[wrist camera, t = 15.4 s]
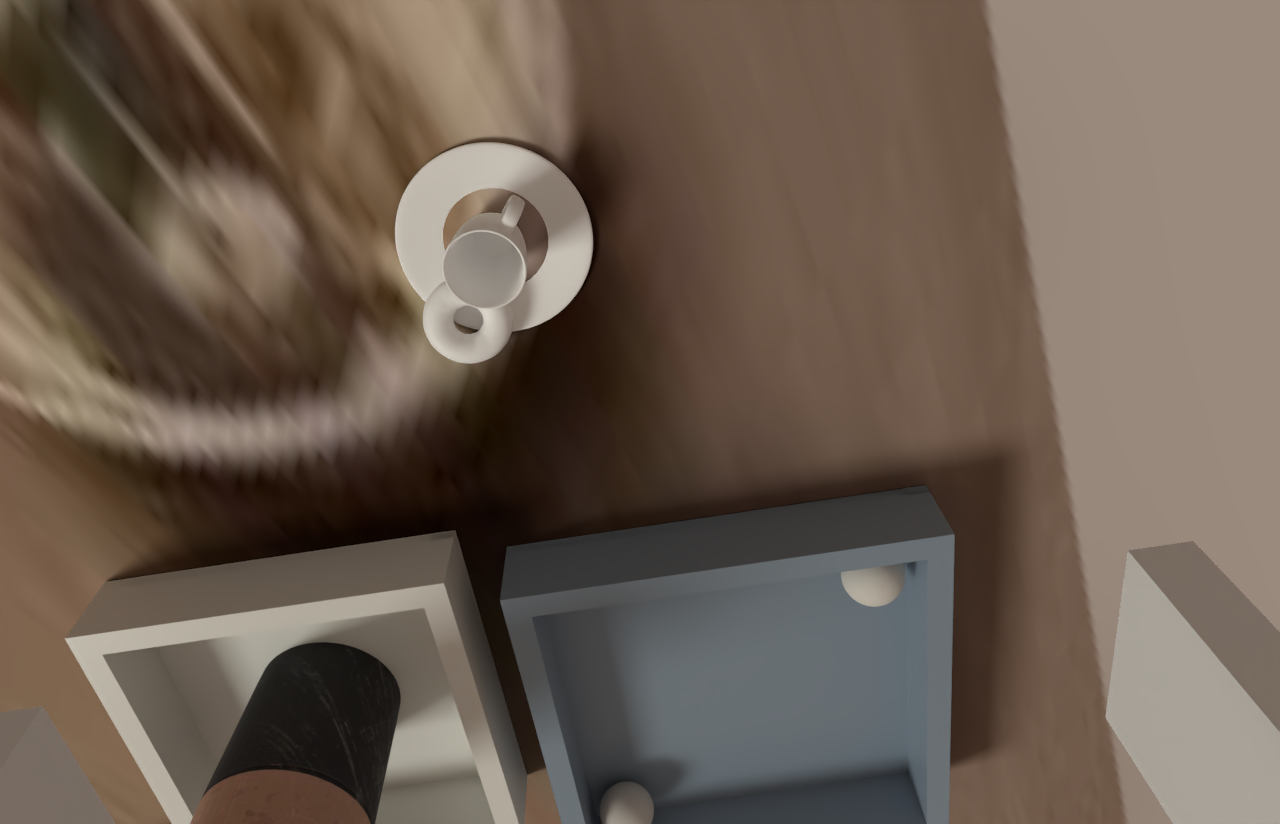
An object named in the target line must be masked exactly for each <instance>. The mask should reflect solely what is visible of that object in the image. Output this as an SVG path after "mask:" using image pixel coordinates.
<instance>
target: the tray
mask: <svg viewBox="0 0 1280 824" xmlns="http://www.w3.org/2000/svg"><path fill="white" fill-rule="evenodd" d="M65 640H66V642H67V643H68V645H69V647H70V649H71V650H72V652H73V654H74V656H75V657H76V659H77V661H78V662H79V664H80V666H81V668H82V669H83V671H84V673H85V675H86V676H87V678H88V680H89V681H90V683H91V685H92V687H93V688H94V690H95V692H96V694H97V695H98V697H99V699H100V700H101V702H102V704H103V706H104V707H105V709H106V711H107V713H108V714H109V716H110V718H111V719H112V721H113V723H114V725H115V726H116V728H117V730H118V732H119V733H120V735H121V737H122V738H123V740H124V742H125V744H126V745H127V747H128V749H129V751H130V752H131V754H132V756H133V757H134V759H135V761H136V763H137V764H138V766H139V768H140V770H141V771H142V773H143V775H144V776H145V778H146V780H147V782H148V783H149V785H150V787H151V788H152V790H153V792H154V794H155V795H156V797H157V799H158V801H159V802H160V804H161V806H162V807H163V809H164V811H165V813H166V814H167V816H168V818H169V820H170V821H171V823H172V824H190V823H191V820H192V818H193V816H194V813H195V811H196V809H197V807H198V805H199V803H200V801H201V798H202V796H203V794H204V792H205V790H206V788H207V786H208V784H209V782H210V780H211V778H212V776H213V774H214V771H215V769H216V767H217V765H218V763H219V761H220V759H221V757H222V755H223V753H224V751H225V749H226V747H227V745H228V743H229V741H230V739H231V737H232V735H233V733H234V731H235V729H236V726H237V724H238V722H239V720H240V718H241V716H242V714H243V712H244V710H245V708H246V706H247V704H248V702H249V700H250V698H251V696H252V694H253V692H254V690H255V688H256V686H257V684H258V682H259V680H260V678H261V676H262V674H263V672H264V670H265V668H266V667H267V665H268V664H269V663H270V662H271V661H272V660H273V659H274V658H275V657H276V656H278V655H279V654H281V653H282V652H284V651H286V650H288V649H290V648H293V647H296V646H299V645H303V644H307V643H315V642H329V643H338V644H344V645H348V646H352V647H355V648H357V649H360V650H362V651H364V652H366V653H368V654H370V655H372V656H374V657H375V658H377V659H378V660H379V661H381V662H382V663H383V664H384V665H385V666H386V667H387V668H388V669H389V670H390V671H391V673H392V674H393V675H394V677H395V679H396V681H397V683H398V686H399V689H400V694H401V703H400V708H399V713H398V718H397V723H396V728H395V733H394V737H393V742H392V747H391V751H390V756H389V761H388V765H387V770H386V775H385V779H384V784H383V789H382V793H381V798H380V803H379V808H378V812H377V817H376V822H375V824H524V817H525V803H526V789H527V772H526V769H525V765H524V762H523V759H522V755H521V752H520V748H519V745H518V742H517V738H516V735H515V731H514V728H513V725H512V721H511V718H510V714H509V711H508V708H507V704H506V701H505V697H504V694H503V691H502V687H501V684H500V680H499V677H498V674H497V670H496V667H495V663H494V660H493V657H492V653H491V650H490V646H489V643H488V640H487V636H486V633H485V629H484V626H483V623H482V619H481V616H480V612H479V609H478V606H477V602H476V599H475V595H474V592H473V589H472V585H471V582H470V578H469V575H468V572H467V568H466V565H465V561H464V558H463V555H462V551H461V548H460V544H459V541H458V537H457V534H456V531H455V530H452V531H445V532H439V533H432V534H425V535H418V536H412V537H405V538H398V539H391V540H384V541H378V542H371V543H364V544H357V545H351V546H344V547H337V548H330V549H324V550H317V551H310V552H303V553H297V554H290V555H283V556H276V557H269V558H263V559H256V560H249V561H242V562H236V563H229V564H222V565H215V566H209V567H202V568H195V569H188V570H182V571H175V572H168V573H161V574H155V575H148V576H141V577H134V578H127V579H121V580H114V581H107V582H105V583H104V584H103V586H102V587H101V589H100V590H99V591H98V593H97V594H96V596H95V597H94V598H93V600H92V601H91V603H90V604H89V605H88V607H87V608H86V610H85V611H84V612H83V614H82V615H81V617H80V618H79V619H78V621H77V622H76V624H75V625H74V626H73V628H72V629H71V631H70V632H69V633H68V635H67V636H66V637H65Z"/></svg>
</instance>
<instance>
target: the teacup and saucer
mask: <svg viewBox="0 0 1280 824" xmlns="http://www.w3.org/2000/svg"><path fill="white" fill-rule="evenodd" d="M486 188H499V189H505V190H509V191H512V192H514V193H517V194H519V195H520V196H522V197H524V198H525V199H527V200H528V201H529V202H530V203H531V204H532V205H533V206H534V207H535V208H536V209H537V210H538V212H539V213H540V215H541V216H542V218H543V220H544V222H545V225H546V228H547V232H548V251H547V255H546V258H545V261H544V263H543V265H542V266H541V268H540V269H539V271H538V272H537V273H536V274H535V275H534V276H533V277H532V278H531V279H530V280H528V281H527V282H525V281H526V276H527V250H526V244H525V241H524V238H523V235H522V233H521V231H520V230H519V228H518V227H517V223H518V221H519V219H520V216H521V214H522V212H523V209H524V206H525V202H524V200H523V199H521V198H520V197H518V196H516V195H511V196H510V198H509V199H508V201H507V202H506V204H505V206H504V208H503V210H502V213H482V214H479V215H476V216H474V217H472V218H471V219H469V220H468V221H466V222H465V223H464V224H463V225H462V226H461V227H460V229H459V230H458V231H457V233H456V234H455V236H454V237H453V239H452V240H451V242H450V243H449V245H448V247H447V249H446V251H445V249H444V245H443V227H444V223H445V220H446V217H447V215H448V213H449V211H450V210H451V208H452V207H453V206H454V205H455V204H456V203H457V202H458V201H459V200H460V199H461V198H462V197H464V196H466V195H467V194H469V193H471V192H474V191H477V190H480V189H486ZM395 241H396V248H397V253H398V257H399V260H400V263H401V266H402V268H403V271H404V273H405V275H406V277H407V279H408V280H409V282H410V284H411V285H412V287H413V288H414V289H415V291H416V292H417V293H418V294H419V296H420V297H421V298H422V299H423V300H424V301H425V302H426V303H425V306H424V311H423V326H424V331H425V334H426V336H427V338H428V340H429V342H430V343H431V345H432V346H433V347H434V348H435V349H436V350H437V351H438V352H439V353H441V354H442V355H444V356H445V357H447V358H449V359H451V360H453V361H456V362H460V363H478V362H482V361H485V360H488V359H490V358H492V357H494V356H495V355H496V354H498V353H499V352H500V351H501V350H502V349H503V347H504V346H505V345H506V344H507V342H508V340H509V338H510V335H511V333H512V332H513V331H519V330H524V329H527V328H531V327H533V326H536V325H539V324H541V323H543V322H545V321H547V320H549V319H550V318H552V317H553V316H555V315H556V314H558V313H559V312H560V311H561V310H563V309H564V308H565V307H566V306H567V305H568V304H569V303H570V302H571V301H572V299H573V298H574V297H575V296H576V294H577V293H578V291H579V290H580V288H581V287H582V285H583V283H584V281H585V279H586V276H587V274H588V271H589V268H590V264H591V260H592V254H593V232H592V225H591V221H590V217H589V213H588V211H587V208H586V205H585V203H584V201H583V199H582V197H581V195H580V194H579V192H578V190H577V189H576V187H575V186H574V185H573V183H572V182H571V181H570V180H569V178H568V177H567V176H566V175H565V174H564V173H563V172H562V171H561V170H560V169H558V168H557V167H556V166H555V165H554V164H552V163H551V162H550V161H548V160H547V159H545V158H543V157H542V156H540V155H538V154H536V153H534V152H532V151H530V150H527V149H525V148H522V147H519V146H515V145H511V144H506V143H498V142H479V143H471V144H466V145H462V146H459V147H456V148H453V149H450V150H448V151H446V152H444V153H442V154H440V155H439V156H437V157H435V158H434V159H432V160H431V161H430V162H428V163H427V164H426V165H425V166H424V167H423V168H422V169H421V170H420V171H419V172H418V173H417V174H416V175H415V176H414V178H413V179H412V180H411V182H410V183H409V185H408V186H407V188H406V190H405V192H404V194H403V196H402V198H401V201H400V204H399V207H398V211H397V216H396V223H395ZM454 322H455V323H458V324H460V325H462V326H465V327H468V328H472V329H476V330H479V331H477V332H476V333H472V334H464V333H462V332H460V331H459V330H458V329H457V328H456V327H455V325H454Z"/></svg>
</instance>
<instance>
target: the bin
mask: <svg viewBox="0 0 1280 824" xmlns="http://www.w3.org/2000/svg"><path fill="white" fill-rule="evenodd" d="M954 544H955V534H954V532H953V530H952V529H951V527H950V525H949V524H948V522H947V520H946V518H945V517H944V515H943V513H942V512H941V510H940V508H939V506H938V505H937V503H936V501H935V500H934V498H933V496H932V494H931V493H930V491H929V489H928V487H927V486H926V485H923V486H916V487H909V488H903V489H896V490H889V491H882V492H875V493H869V494H862V495H855V496H848V497H841V498H835V499H828V500H821V501H814V502H807V503H801V504H794V505H787V506H780V507H773V508H767V509H760V510H753V511H746V512H739V513H733V514H726V515H719V516H712V517H705V518H699V519H692V520H685V521H678V522H672V523H665V524H658V525H651V526H644V527H638V528H631V529H624V530H617V531H610V532H604V533H597V534H590V535H583V536H576V537H570V538H563V539H556V540H549V541H542V542H536V543H529V544H522V545H515V546H508V547H507V549H506V557H505V564H504V572H503V580H502V588H501V595H500V603H501V606H502V610H503V614H504V617H505V621H506V624H507V628H508V632H509V635H510V639H511V642H512V646H513V650H514V653H515V657H516V660H517V664H518V668H519V671H520V675H521V678H522V682H523V685H524V689H525V693H526V696H527V700H528V703H529V707H530V711H531V714H532V718H533V721H534V725H535V729H536V732H537V736H538V739H539V743H540V747H541V750H542V754H543V757H544V761H545V765H546V768H547V772H548V775H549V779H550V783H551V786H552V790H553V793H554V797H555V801H556V804H557V808H558V811H559V815H560V819H561V822H562V824H602V822H601V818H600V803H601V800H602V798H603V796H604V794H605V792H606V791H607V790H608V789H609V788H610V787H611V786H613V785H614V784H616V783H619V782H623V781H631V782H635V783H638V784H639V785H641V786H643V787H644V788H645V789H646V790H647V792H648V793H649V794H650V796H651V798H652V801H653V806H654V816H653V820H652V823H651V824H949V788H950V739H951V690H952V642H953V593H954ZM901 563H903V565H904V568H905V574H906V578H905V584H904V587H903V590H902V591H901V593H900V594H899V596H898V597H897V598H896V599H895V600H893V601H892V602H890V603H888V604H886V605H883V606H877V607H871V606H866V605H863V604H860V603H858V602H857V601H855V600H854V599H853V598H851V597H850V596H849V594H848V593H847V592H846V590H845V588H844V586H843V584H842V580H841V572H846V571H853V570H860V569H867V568H874V567H881V566H888V565H894V564H901Z"/></svg>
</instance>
